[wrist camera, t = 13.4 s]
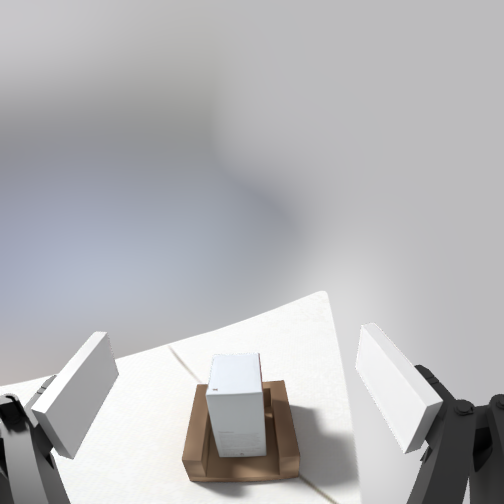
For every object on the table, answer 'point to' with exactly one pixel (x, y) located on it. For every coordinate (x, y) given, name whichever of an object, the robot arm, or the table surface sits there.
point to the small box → (237, 405)
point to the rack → (243, 468)
